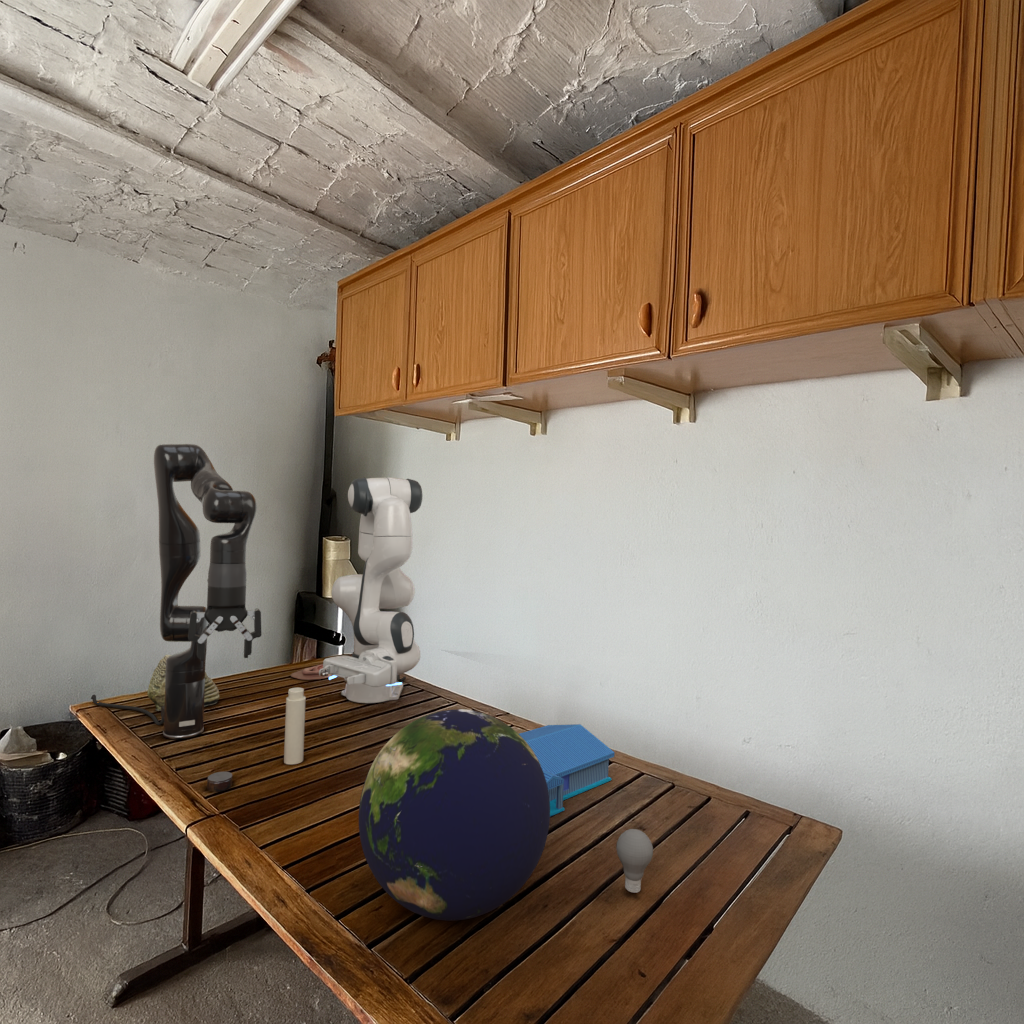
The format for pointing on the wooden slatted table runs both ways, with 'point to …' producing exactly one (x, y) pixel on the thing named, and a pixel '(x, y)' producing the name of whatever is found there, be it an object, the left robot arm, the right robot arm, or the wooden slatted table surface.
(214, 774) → the lid
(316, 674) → the anatomical model
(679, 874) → the wooden slatted table surface
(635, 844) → the light bulb
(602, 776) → the model building
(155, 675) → the fossil
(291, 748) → the beige tall cylinder
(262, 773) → the wooden slatted table surface
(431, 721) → the globe
